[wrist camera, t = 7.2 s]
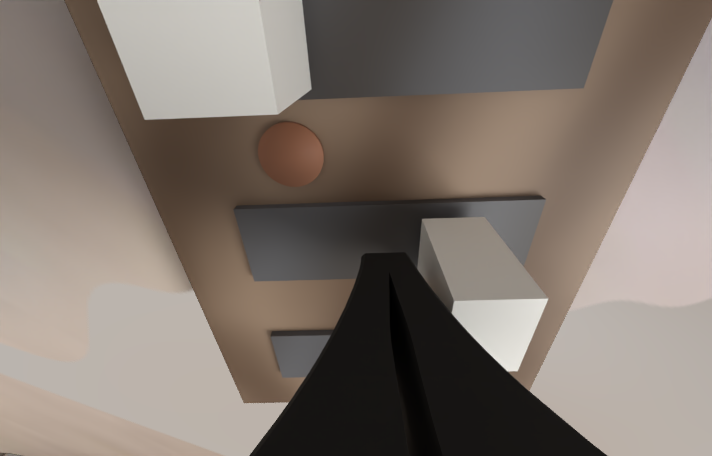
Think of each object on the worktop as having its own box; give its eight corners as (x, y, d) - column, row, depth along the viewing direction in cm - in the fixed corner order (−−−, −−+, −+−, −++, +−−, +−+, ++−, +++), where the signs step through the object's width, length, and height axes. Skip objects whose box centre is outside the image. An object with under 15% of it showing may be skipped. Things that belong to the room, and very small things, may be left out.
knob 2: (484, 216, 9) (548, 298, 6) (470, 278, 11) (517, 371, 7) (422, 218, 9) (454, 301, 6) (416, 280, 11) (440, 372, 8)
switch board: (788, -261, 6) (911, -352, 4) (515, 378, 17) (528, 404, 16) (16, -208, 6) (-74, -278, 5) (250, 382, 18) (242, 408, 16)
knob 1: (296, -50, 6) (231, -161, 3) (311, 89, 7) (278, 114, 4) (201, -45, 6) (37, -148, 3) (233, 92, 7) (144, 119, 4)
